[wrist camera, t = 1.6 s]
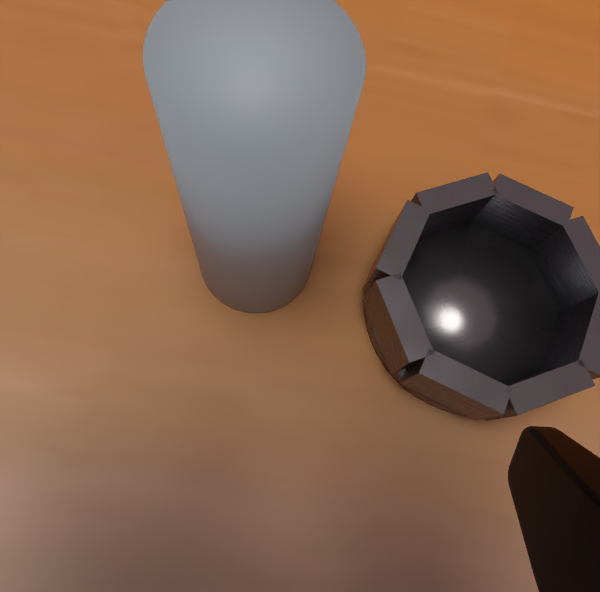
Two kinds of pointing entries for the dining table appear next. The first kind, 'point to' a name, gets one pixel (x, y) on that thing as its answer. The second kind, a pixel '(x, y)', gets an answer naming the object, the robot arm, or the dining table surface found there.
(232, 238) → the peg
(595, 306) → the socket collar
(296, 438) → the dining table surface
